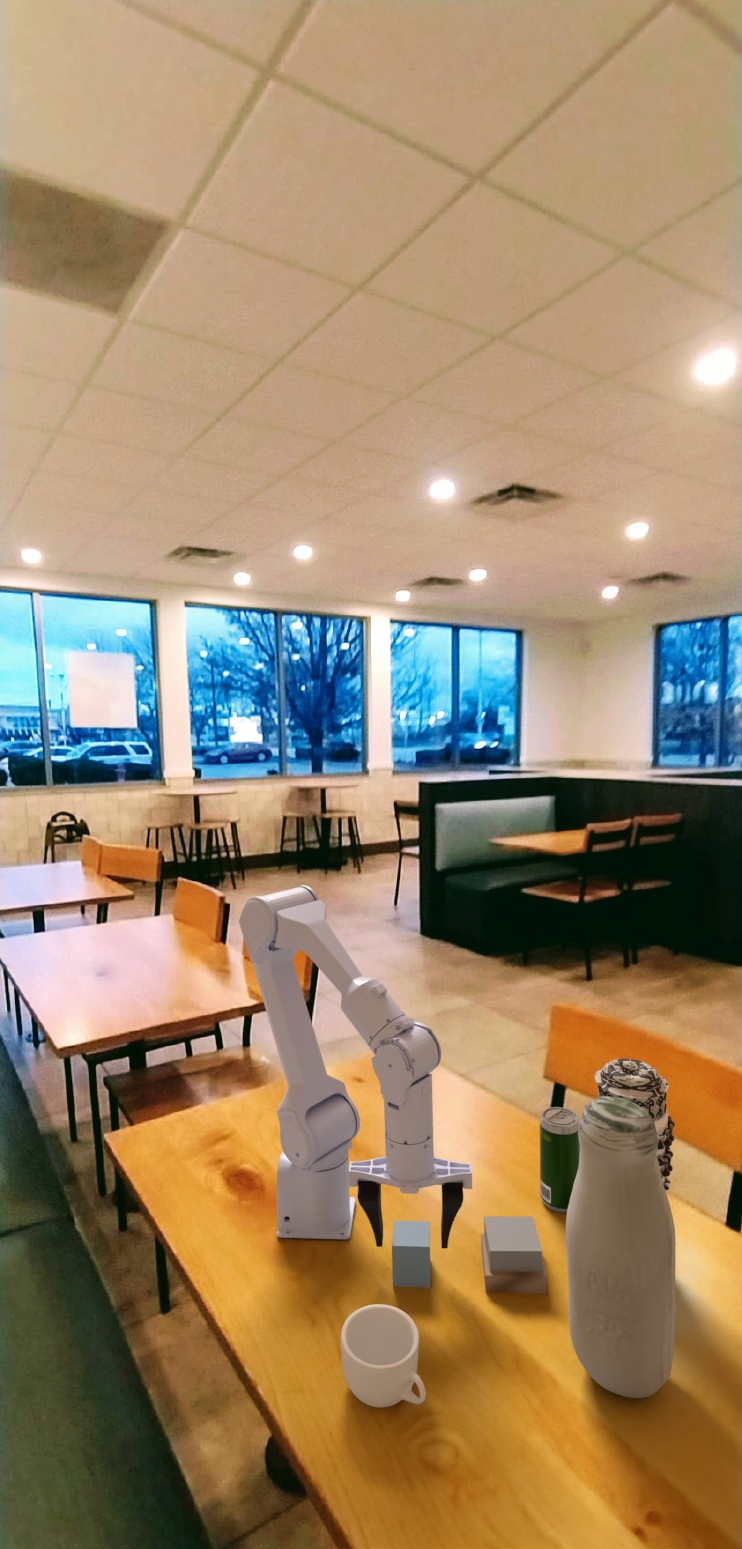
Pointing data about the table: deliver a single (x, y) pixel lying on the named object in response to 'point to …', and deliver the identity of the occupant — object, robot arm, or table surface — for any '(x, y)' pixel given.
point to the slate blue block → (411, 1253)
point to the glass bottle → (621, 1252)
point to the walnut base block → (512, 1278)
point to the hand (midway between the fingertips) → (411, 1241)
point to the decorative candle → (642, 1101)
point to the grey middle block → (512, 1244)
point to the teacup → (381, 1356)
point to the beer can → (558, 1156)
